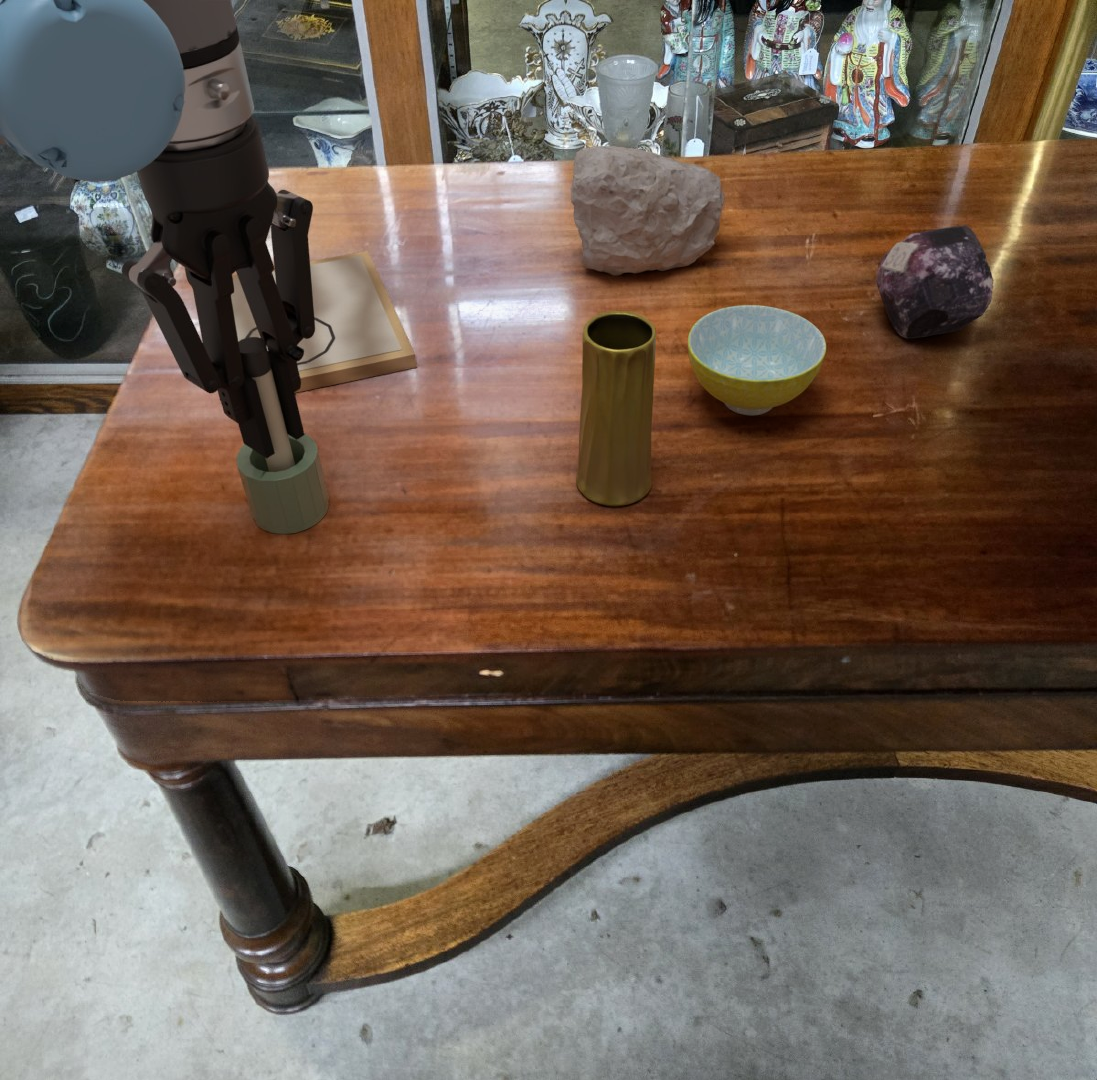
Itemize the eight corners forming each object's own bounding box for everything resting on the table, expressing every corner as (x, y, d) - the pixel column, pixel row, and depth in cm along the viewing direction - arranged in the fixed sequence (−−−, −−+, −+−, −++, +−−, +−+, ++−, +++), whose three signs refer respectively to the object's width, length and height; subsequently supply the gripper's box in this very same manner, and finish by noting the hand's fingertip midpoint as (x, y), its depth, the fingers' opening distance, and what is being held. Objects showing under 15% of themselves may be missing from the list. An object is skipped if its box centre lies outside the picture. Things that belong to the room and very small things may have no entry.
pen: (279, 513, 80) (236, 356, 70) (275, 496, 82) (232, 340, 72) (306, 507, 81) (267, 349, 71) (302, 490, 82) (263, 333, 72)
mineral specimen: (875, 265, 103) (939, 185, 95) (960, 329, 102) (1031, 253, 94) (840, 309, 97) (905, 227, 89) (930, 377, 96) (1003, 300, 88)
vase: (603, 448, 86) (607, 298, 76) (666, 475, 84) (679, 324, 74) (561, 488, 83) (559, 336, 73) (625, 518, 80) (633, 365, 70)
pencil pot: (258, 542, 79) (241, 488, 75) (247, 492, 83) (231, 439, 79) (335, 523, 80) (324, 469, 77) (321, 475, 84) (309, 422, 81)
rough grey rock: (714, 209, 112) (682, 77, 101) (752, 249, 105) (721, 113, 94) (579, 275, 112) (533, 151, 101) (608, 319, 105) (562, 192, 95)
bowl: (661, 378, 93) (665, 318, 89) (775, 352, 96) (784, 293, 92) (717, 453, 86) (724, 392, 81) (839, 423, 88) (853, 362, 84)
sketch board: (240, 404, 91) (236, 389, 90) (215, 292, 105) (211, 277, 104) (417, 367, 95) (415, 352, 94) (370, 263, 109) (368, 248, 107)
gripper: (114, 190, 55) (221, 515, 71) (333, 99, 63) (384, 410, 79) (39, 151, 58) (158, 469, 75) (255, 70, 66) (319, 373, 83)
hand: (274, 438), depth 77 cm, fingers closed on pen, 2 cm apart
